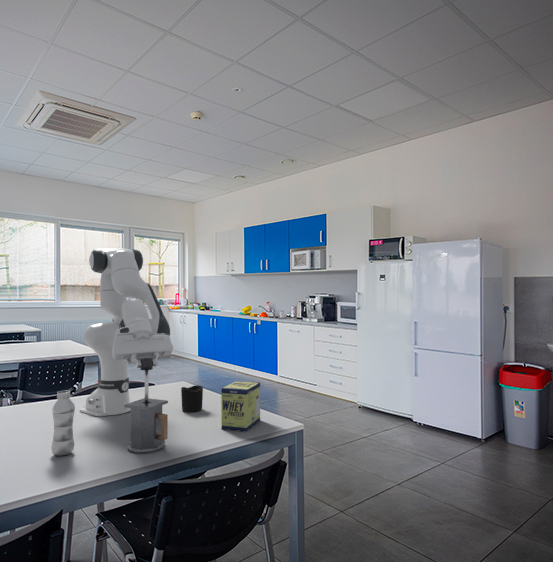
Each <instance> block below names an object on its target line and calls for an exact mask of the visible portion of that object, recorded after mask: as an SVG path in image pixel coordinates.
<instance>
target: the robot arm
mask: <svg viewBox="0 0 553 562" xmlns="http://www.w3.org/2000/svg"><path fill="white" fill-rule="evenodd" d="M88 261H89V266H90V269H91V270H92V271H93V272H94V273H97V274H101V275H100V281H99V282H100V283H99V297H100V298H99V299H100V302H99V303H100V309H101V310H102V311H103V313H105V314H107V315H109V316H111V318H112V320H113V321H112V322H98V323H95V324H90V325H88V327H86V329H85V331H84V335H83V340H84V342H85V344H86V346H88V347H89V348H91V350H93V351H94V353H96V355H97V356H98V358H99V362H100V370H101V371H100V374H101V375H100V380H96V384H98V385H97V388H96V389H94V390H93V391H92V392H91V393H90V394H89V395H88V396H87V397H86V400H85V406H82V407H81V408H80V409H79V412H81V413H84V414H88V415H91V416H94V417H105V416H113V415H115V416H116V415H122V414H126V413H128V412H131V408H126V407H124V405H125V404H128V403H131V398H130V392H129V386H130V377H129V362H128V360H130V361H131V362H132V363H133V364H134V365H135V369H140V368H141V361H140V360H138V359H142V358H153V368H154V367H157V366H158V365H159V363H158V358H159V357H168V356H171V355H172V354H173V351H174V346H173V343H172V341H171V337H170V336H171V327H170V324H169V322H168V319H167V318H166V316H165V314H164V312H163V310H162V308H161V305H160V302H159V300H158V298H157V296H156V293H155V291H154V289H153V287H152V285H151V284H150V283H148V282H146V281H145V280H144V279H143V277H141V273H140V271H141V270H142V269H143V264H144V258H143V254H142V252H141V251H140V250H138V249H134V248H131V249H129V248H123V247H122V248H121V247H116V248H114V247H113V248H111V247H109V248H96V249H95V248H94V249H93V250H92V251H91V253H90V255H89V259H88ZM128 298H130V299H128ZM145 304H146V305H145ZM146 306H147V307H146ZM147 309H148V310H149V313H150V315H151V318H150V317H149V313H148V310H147Z"/></svg>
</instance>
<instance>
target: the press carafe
mask: <svg viewBox="0 0 553 562" xmlns="http://www.w3.org/2000/svg"><path fill="white" fill-rule="evenodd" d="M166 404H169V400H165V399H157V398H156V399H155V398H149V397H148V404H145V397H144V398H141V399H138V400H135V401H130V403H128V404H125V405H124V407H126V408H131V411H130V442H129V443H128V444H127V451H128V452H129V453H132V454H137V455H138V454H139V455H142V454H143V455H145V454H151V453H154V452H156V453H157V452H158V451H161V450H162V449H164V448H165V447H164V446H165V445H166V442H165V441H166V440H168V438H169V437H168V436H169V434H168V427H169V426H168V424H169V423H168V420H169V418H168V416H169V415H168V414H167V413H163V405H166Z"/></svg>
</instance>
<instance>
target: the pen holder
mask: <svg viewBox="0 0 553 562" xmlns="http://www.w3.org/2000/svg"><path fill="white" fill-rule="evenodd" d="M180 391H181V410H182V412H183V413H186V412H187V414H194V412H195V413H199V412H201V411H202V410H203V397H204V396H203V394H204V387H203V386H202V385H197V384H196V385H192V386H190V387H185V386H183V387H181V389H180Z"/></svg>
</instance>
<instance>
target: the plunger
mask: <svg viewBox="0 0 553 562" xmlns="http://www.w3.org/2000/svg"><path fill="white" fill-rule="evenodd" d="M139 359H140V360H139V361H141V368H139V370H140V371H144V398H145V404H148V398H149V371H151V370H153V369H154V367H153V360H154V358H153V357H148V358H139Z"/></svg>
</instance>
